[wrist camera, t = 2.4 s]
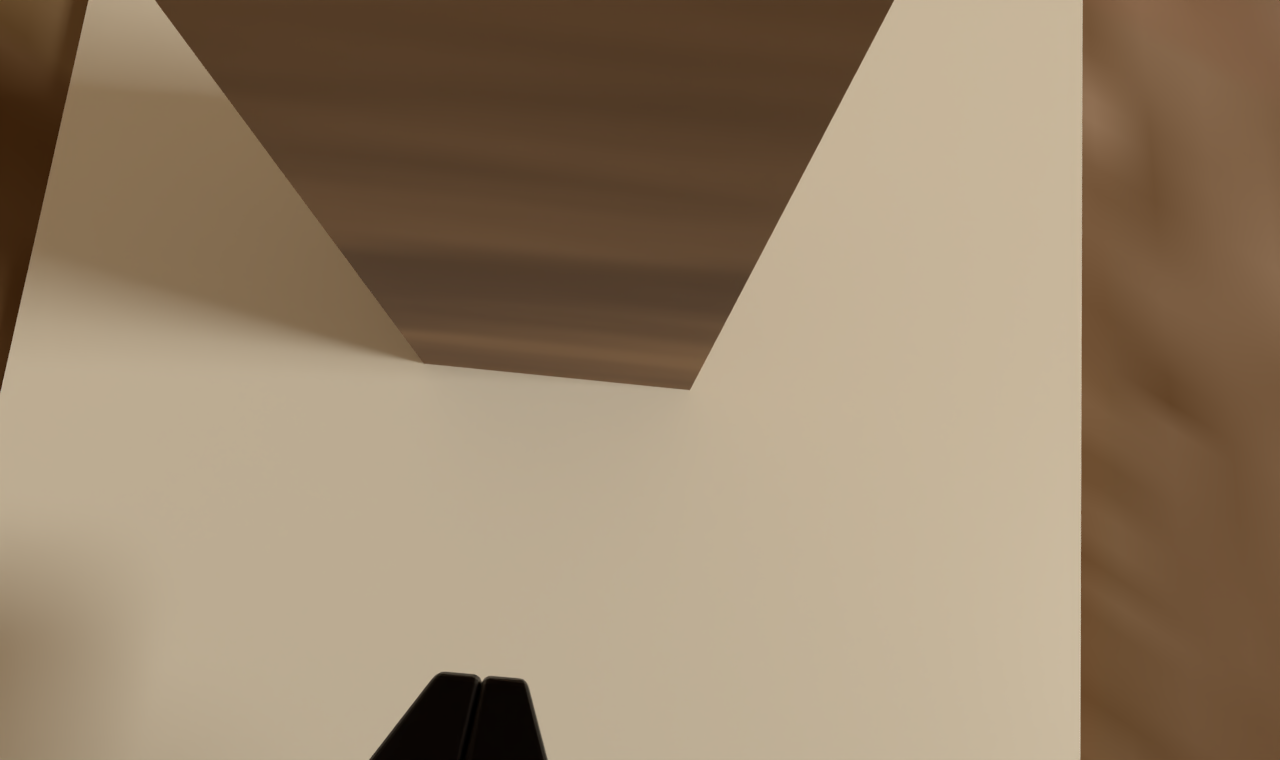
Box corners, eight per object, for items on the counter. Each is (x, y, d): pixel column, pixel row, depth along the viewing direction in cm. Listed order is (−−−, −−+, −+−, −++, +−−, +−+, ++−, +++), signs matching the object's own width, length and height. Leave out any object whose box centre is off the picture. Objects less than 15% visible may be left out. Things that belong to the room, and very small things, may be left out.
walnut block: (690, 390, 17) (985, -176, 4) (423, 363, 17) (-65, -299, 4) (710, 143, 18) (1004, -918, 5) (457, 116, 18) (138, -1041, 5)
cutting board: (1061, 975, 16) (1079, 989, 16) (-85, 880, 16) (-112, 891, 15) (1069, -208, 21) (1083, -230, 20) (177, -314, 20) (165, -342, 19)
